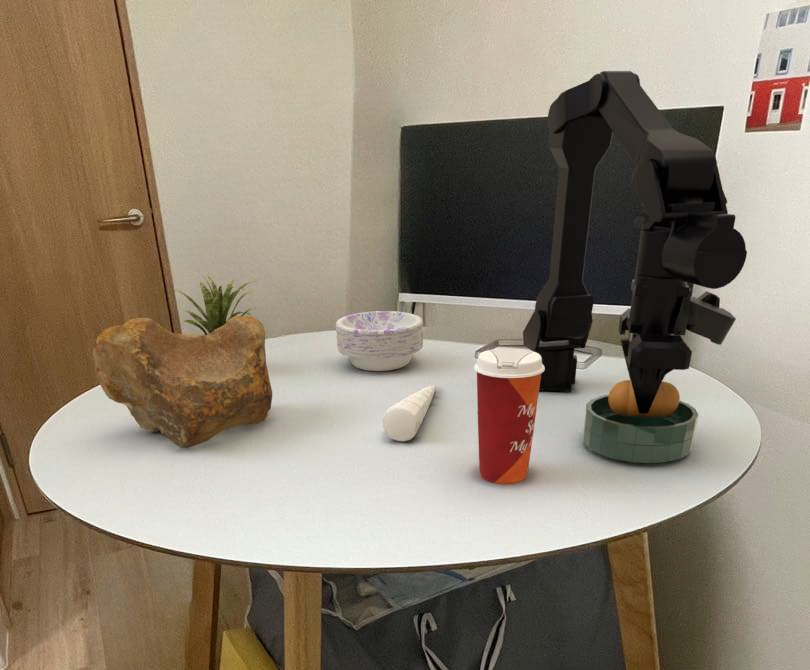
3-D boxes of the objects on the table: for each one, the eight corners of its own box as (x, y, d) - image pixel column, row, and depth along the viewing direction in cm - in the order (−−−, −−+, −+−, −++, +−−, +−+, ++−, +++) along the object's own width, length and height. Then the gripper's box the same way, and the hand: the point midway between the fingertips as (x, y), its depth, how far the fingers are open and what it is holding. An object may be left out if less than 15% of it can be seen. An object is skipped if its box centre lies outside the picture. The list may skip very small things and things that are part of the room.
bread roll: (607, 420, 86) (611, 385, 84) (605, 408, 90) (609, 375, 88) (678, 423, 85) (685, 388, 83) (673, 411, 89) (679, 377, 87)
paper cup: (534, 490, 79) (544, 366, 72) (466, 485, 80) (470, 363, 73) (537, 463, 86) (546, 347, 79) (474, 459, 87) (478, 345, 80)
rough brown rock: (121, 474, 87) (98, 356, 79) (104, 423, 99) (83, 316, 91) (300, 446, 96) (296, 337, 88) (264, 403, 108) (258, 304, 100)
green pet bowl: (583, 464, 85) (588, 424, 83) (581, 426, 96) (585, 391, 94) (698, 470, 83) (706, 430, 80) (682, 431, 94) (688, 395, 92)
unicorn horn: (457, 390, 111) (458, 360, 109) (416, 445, 92) (415, 409, 89) (428, 388, 113) (428, 358, 110) (381, 441, 93) (380, 406, 91)
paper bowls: (361, 381, 117) (359, 333, 113) (325, 361, 128) (321, 316, 125) (439, 367, 123) (439, 321, 119) (397, 349, 135) (396, 307, 131)
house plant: (289, 368, 125) (279, 271, 117) (233, 388, 115) (219, 283, 107) (231, 358, 132) (218, 265, 124) (174, 376, 122) (155, 277, 114)
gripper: (757, 289, 70) (725, 437, 78) (721, 262, 86) (697, 387, 94) (640, 288, 72) (620, 432, 80) (626, 261, 88) (611, 383, 96)
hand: (641, 406), depth 87 cm, fingers closed on bread roll, 4 cm apart
